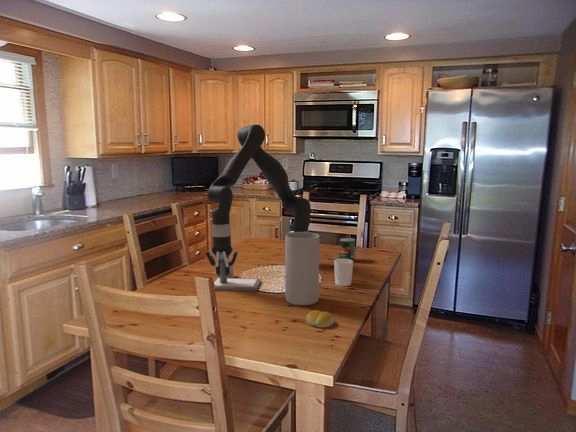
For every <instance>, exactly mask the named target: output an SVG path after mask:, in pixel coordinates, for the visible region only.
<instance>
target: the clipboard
mask: <svg viewBox="0 0 576 432" xmlns="http://www.w3.org/2000/svg"><path fill="white" fill-rule="evenodd" d="M213 280H214V284H215V289H216V290H215V291H232V292H233V291H235V292H257V290H258V289H259V287H260V285H261V283H262V278H247V277H245V278H244V277H243V278H242V277H234V278H227V283H220V277H215V278H214V279H213ZM260 282H261V283H260ZM259 284H260V285H259ZM258 286H259V287H258ZM257 288H258V289H257Z"/></svg>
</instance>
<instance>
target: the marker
mask: <svg viewBox="0 0 576 432" xmlns="http://www.w3.org/2000/svg"><path fill="white" fill-rule="evenodd" d="M219 273H220V276H219V278H220V283H227V276H226V264H225V261H224V256H223V252H220V255H219Z"/></svg>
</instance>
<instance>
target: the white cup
mask: <svg viewBox="0 0 576 432" xmlns="http://www.w3.org/2000/svg"><path fill="white" fill-rule="evenodd" d="M333 262H334V263H333V265H334V269H333V270H334V281H335V283H334V284H335V285H336V286H339V287H348V286H351V285H352V278H353V270H354V268H353V267H354V262H353V261H352V260H350V259H339V258H336V259H334V260H333Z"/></svg>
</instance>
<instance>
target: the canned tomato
mask: <svg viewBox="0 0 576 432" xmlns="http://www.w3.org/2000/svg"><path fill="white" fill-rule="evenodd" d="M338 251H339V253H338V256H339V258H338V259H350V260H352V261H353V263H354V262H355V261H356V259H355V257H356V239H355V238H351V237H342V238H340V239H339V250H338Z"/></svg>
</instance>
